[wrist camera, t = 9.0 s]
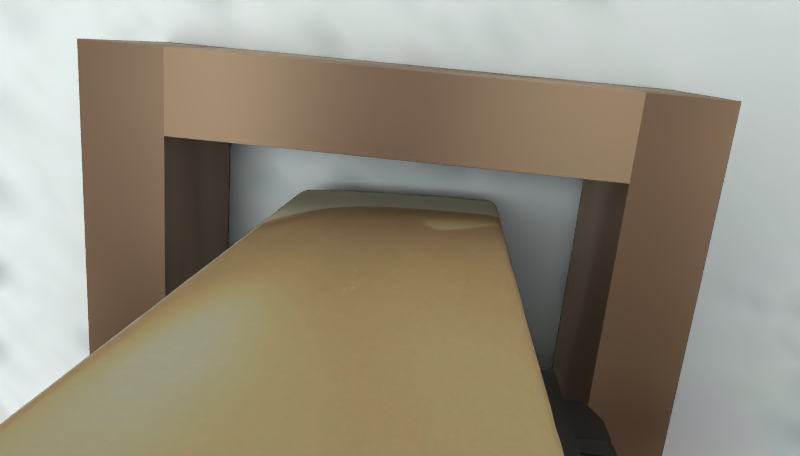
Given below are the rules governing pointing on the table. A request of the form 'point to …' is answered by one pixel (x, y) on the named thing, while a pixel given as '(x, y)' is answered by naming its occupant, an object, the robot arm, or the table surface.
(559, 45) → the table surface
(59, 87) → the table surface
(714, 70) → the table surface
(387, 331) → the skincare box
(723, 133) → the walnut socket
